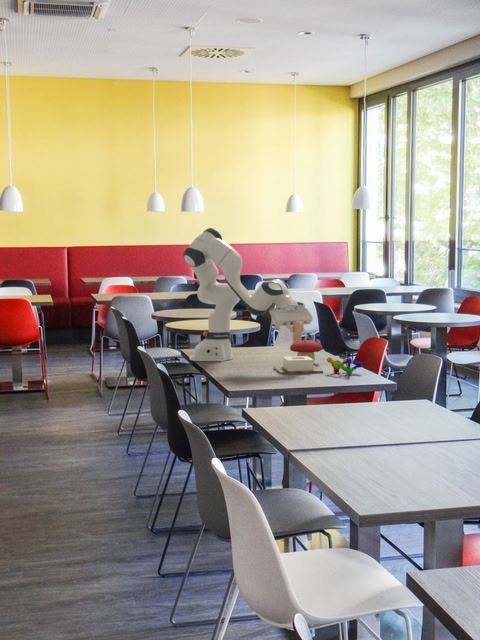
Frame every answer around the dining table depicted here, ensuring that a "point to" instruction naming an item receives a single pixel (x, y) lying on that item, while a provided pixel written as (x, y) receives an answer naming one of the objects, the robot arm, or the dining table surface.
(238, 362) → the dining table surface
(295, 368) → the socket block
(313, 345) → the mushroom
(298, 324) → the peg
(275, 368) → the base board
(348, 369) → the decorative model
